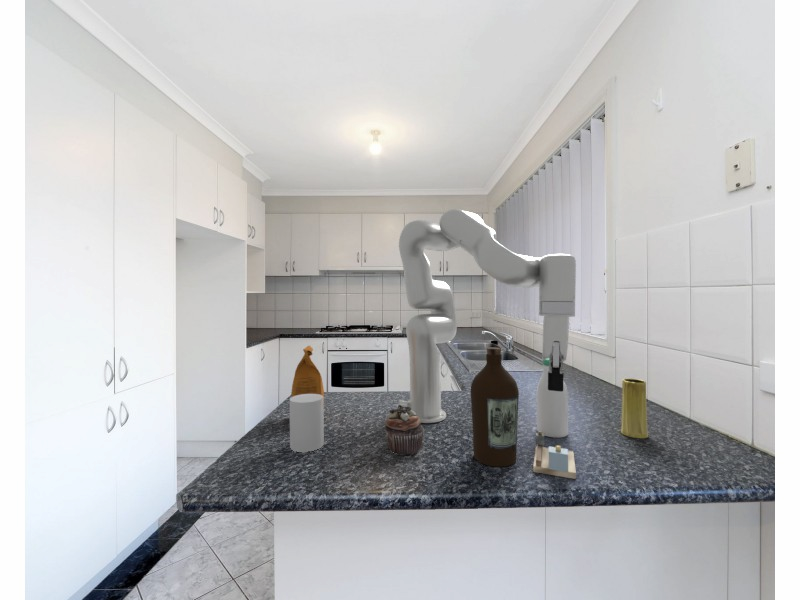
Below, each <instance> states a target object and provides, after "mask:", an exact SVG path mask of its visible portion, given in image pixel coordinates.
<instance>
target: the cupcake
mask: <svg viewBox="0 0 800 600" xmlns="http://www.w3.org/2000/svg"><path fill="white" fill-rule="evenodd" d="M387 415H388V416H387V419H386V420H385V425H384V431H385V435H386V440H387V444H388V450H389V449H390V450H391V451H392V452H394V453H397V454H396V455H398V454H411V455H414V454H413V453H415V454H417V452H418V453H419V452H420V451H422V444H423V438H424V433H425V428H424V426H423V425H422V423H420V418H419V417H418V416H416V413H415V412H413V411H412V410H411V408H410V407H405V408H404V407H402V406H401V405H399V404H398V405H397V408H395V409H390V410H389V412H388V414H387ZM390 450H389V451H390ZM391 451H390V452H391ZM392 452H391V453H392ZM394 453H393V454H394Z"/></svg>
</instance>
